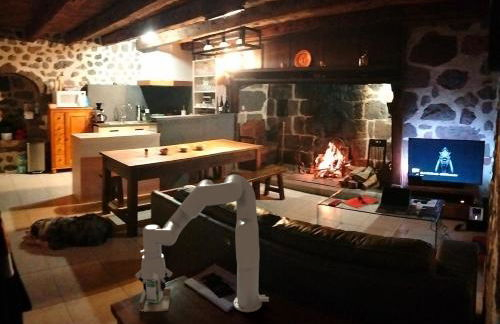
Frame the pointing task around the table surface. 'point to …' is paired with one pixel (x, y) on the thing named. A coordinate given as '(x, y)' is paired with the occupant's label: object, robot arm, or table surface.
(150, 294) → the syrup box
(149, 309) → the board
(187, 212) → the robot arm
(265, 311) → the table surface
